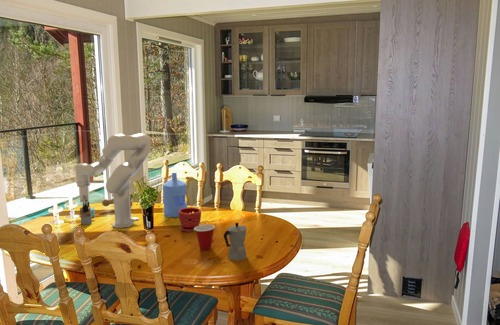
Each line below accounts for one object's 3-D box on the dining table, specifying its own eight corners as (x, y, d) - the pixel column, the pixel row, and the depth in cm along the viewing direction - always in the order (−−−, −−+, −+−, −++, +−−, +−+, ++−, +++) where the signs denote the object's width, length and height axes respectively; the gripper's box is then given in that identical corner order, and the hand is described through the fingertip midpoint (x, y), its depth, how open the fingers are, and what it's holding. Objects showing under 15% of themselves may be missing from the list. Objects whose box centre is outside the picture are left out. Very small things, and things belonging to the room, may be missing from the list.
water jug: (159, 216, 272) (157, 175, 266) (170, 209, 286) (169, 170, 281) (181, 218, 267) (179, 176, 262) (191, 211, 282) (190, 171, 277)
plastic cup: (205, 243, 225) (204, 222, 223) (219, 247, 219) (219, 226, 216) (190, 249, 217) (189, 227, 215) (204, 254, 210) (204, 231, 208)
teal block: (94, 214, 278) (94, 207, 277) (94, 217, 272) (94, 209, 271) (87, 215, 276) (87, 208, 276) (87, 217, 271) (86, 210, 270)
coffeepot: (239, 250, 214) (239, 217, 211) (253, 255, 208) (252, 221, 205) (218, 260, 203) (217, 225, 200) (231, 265, 197) (230, 229, 194)
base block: (91, 221, 263) (91, 214, 262) (91, 224, 259) (91, 216, 258) (81, 222, 261) (81, 215, 260) (81, 225, 257) (80, 217, 256)
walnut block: (90, 214, 262) (90, 206, 261) (90, 216, 258) (90, 208, 257) (80, 215, 260) (80, 207, 259) (80, 217, 256) (79, 209, 255)
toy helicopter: (133, 206, 294) (132, 188, 292) (105, 213, 280) (104, 193, 278) (128, 204, 300) (127, 186, 298) (100, 210, 286) (99, 191, 284)
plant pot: (197, 233, 240) (196, 214, 237) (176, 232, 242) (175, 212, 240) (204, 226, 252) (203, 207, 250) (184, 225, 255) (183, 206, 253)
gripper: (78, 181, 262) (81, 207, 265) (75, 187, 246) (78, 214, 249) (90, 180, 264) (93, 205, 267) (89, 185, 248) (92, 213, 251)
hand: (86, 210), depth 258 cm, fingers open, 9 cm apart
